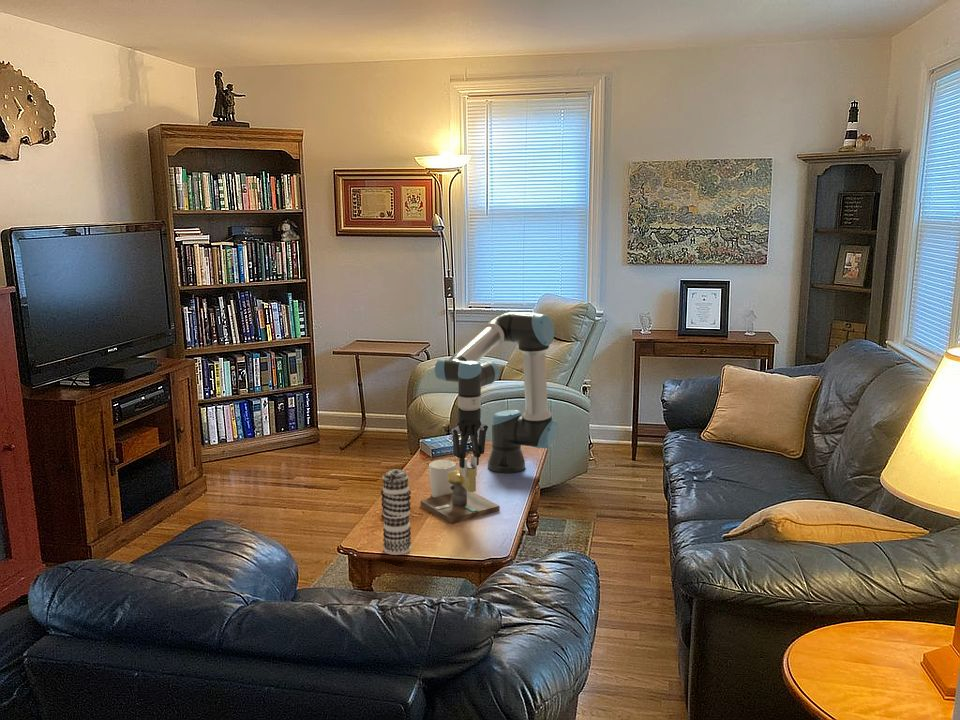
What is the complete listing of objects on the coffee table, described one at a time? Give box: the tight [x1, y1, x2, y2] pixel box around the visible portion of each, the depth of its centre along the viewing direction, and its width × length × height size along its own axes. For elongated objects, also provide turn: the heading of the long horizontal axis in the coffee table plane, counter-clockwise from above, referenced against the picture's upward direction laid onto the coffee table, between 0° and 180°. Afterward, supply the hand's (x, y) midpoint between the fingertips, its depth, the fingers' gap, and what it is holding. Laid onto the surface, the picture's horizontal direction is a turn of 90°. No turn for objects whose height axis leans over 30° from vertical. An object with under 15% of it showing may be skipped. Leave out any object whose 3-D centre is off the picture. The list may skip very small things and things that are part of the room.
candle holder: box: [428, 459, 457, 498], centre depth 289 cm, size 10×10×12 cm
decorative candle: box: [380, 468, 412, 556], centre depth 243 cm, size 9×9×25 cm
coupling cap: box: [448, 460, 477, 493], centre depth 271 cm, size 16×8×8 cm, turn 23°
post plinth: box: [420, 484, 501, 525], centre depth 277 cm, size 20×20×10 cm
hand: (469, 475), depth 267 cm, fingers open, 3 cm apart
